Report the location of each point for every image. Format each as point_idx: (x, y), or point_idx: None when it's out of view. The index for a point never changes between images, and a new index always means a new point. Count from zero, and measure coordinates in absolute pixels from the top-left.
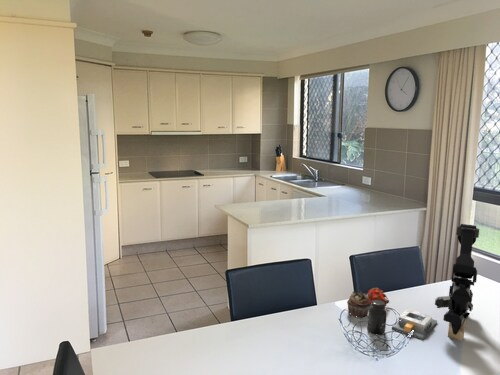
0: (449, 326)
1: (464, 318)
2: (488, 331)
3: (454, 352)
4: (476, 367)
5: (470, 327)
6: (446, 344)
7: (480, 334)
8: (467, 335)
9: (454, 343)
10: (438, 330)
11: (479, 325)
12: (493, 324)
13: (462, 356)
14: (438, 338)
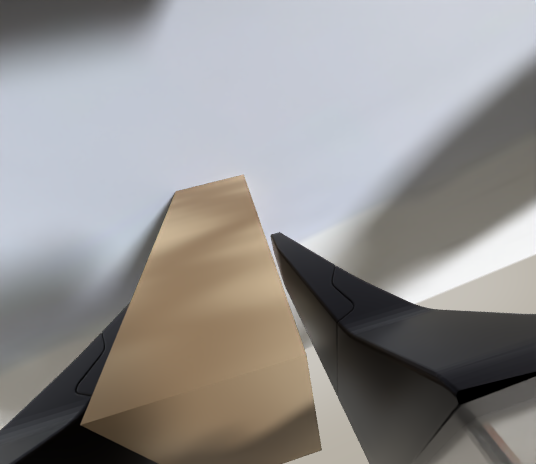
0: (156, 254)
1: (309, 450)
2: (438, 276)
3: (15, 330)
4: None
5: (443, 209)
6: (36, 257)
7: (381, 276)
8: (318, 253)
9: (127, 273)
10: (195, 61)
11: (494, 223)
12: (530, 251)
13: (40, 362)
14: (33, 164)
